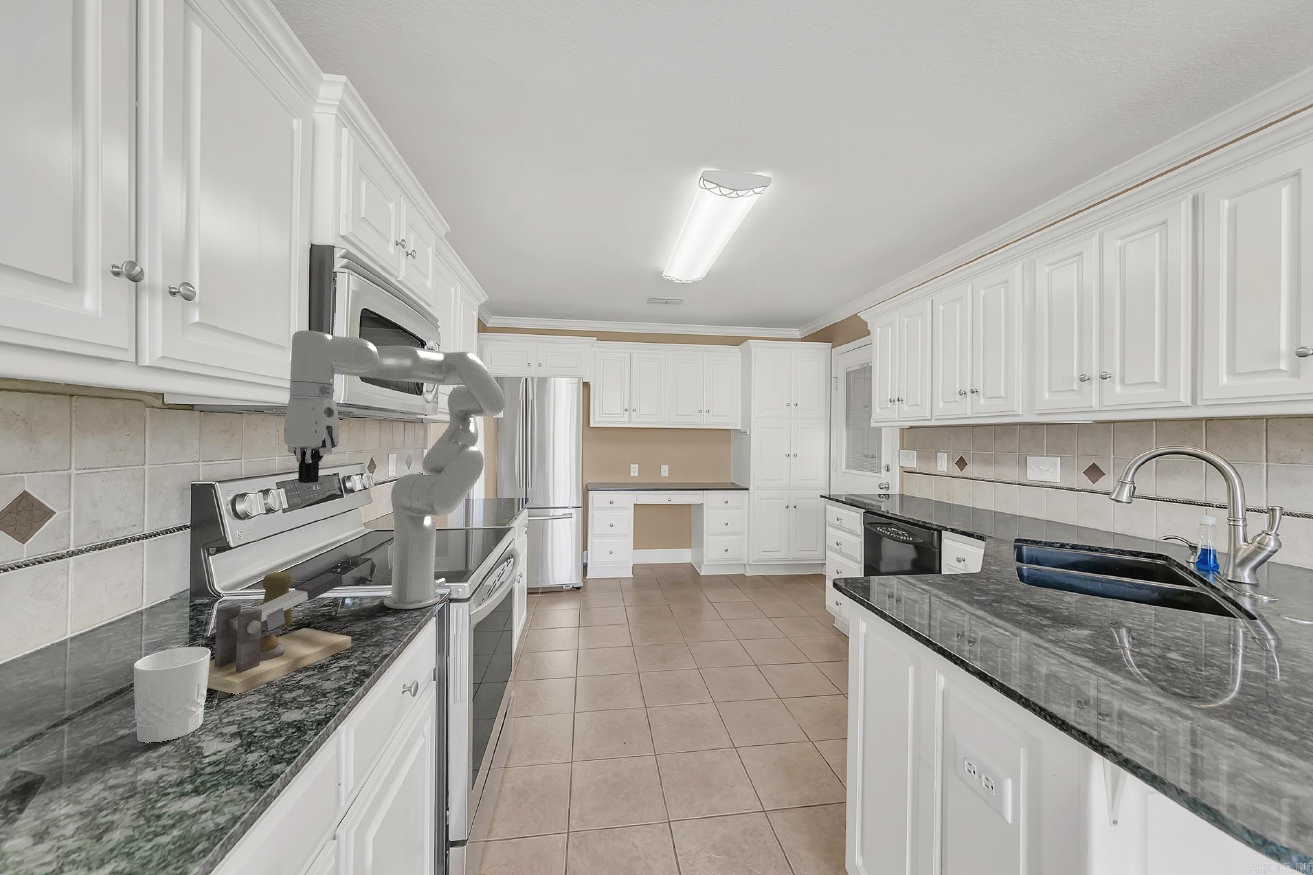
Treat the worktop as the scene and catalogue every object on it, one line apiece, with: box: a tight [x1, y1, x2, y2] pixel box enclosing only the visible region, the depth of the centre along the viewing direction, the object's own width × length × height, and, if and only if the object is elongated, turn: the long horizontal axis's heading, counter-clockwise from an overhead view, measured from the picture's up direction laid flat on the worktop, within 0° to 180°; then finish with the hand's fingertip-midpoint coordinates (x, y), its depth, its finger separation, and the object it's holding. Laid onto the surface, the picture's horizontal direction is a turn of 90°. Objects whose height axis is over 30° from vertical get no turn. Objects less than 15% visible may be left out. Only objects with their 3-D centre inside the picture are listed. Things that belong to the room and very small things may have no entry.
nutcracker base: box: [207, 603, 352, 696], centre depth 96 cm, size 21×12×12 cm, turn 162°
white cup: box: [133, 646, 212, 744], centre depth 74 cm, size 8×8×10 cm
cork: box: [262, 571, 294, 630], centre depth 114 cm, size 6×6×11 cm
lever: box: [229, 572, 344, 632], centre depth 98 cm, size 19×4×4 cm, turn 162°
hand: (308, 482), depth 109 cm, fingers closed
